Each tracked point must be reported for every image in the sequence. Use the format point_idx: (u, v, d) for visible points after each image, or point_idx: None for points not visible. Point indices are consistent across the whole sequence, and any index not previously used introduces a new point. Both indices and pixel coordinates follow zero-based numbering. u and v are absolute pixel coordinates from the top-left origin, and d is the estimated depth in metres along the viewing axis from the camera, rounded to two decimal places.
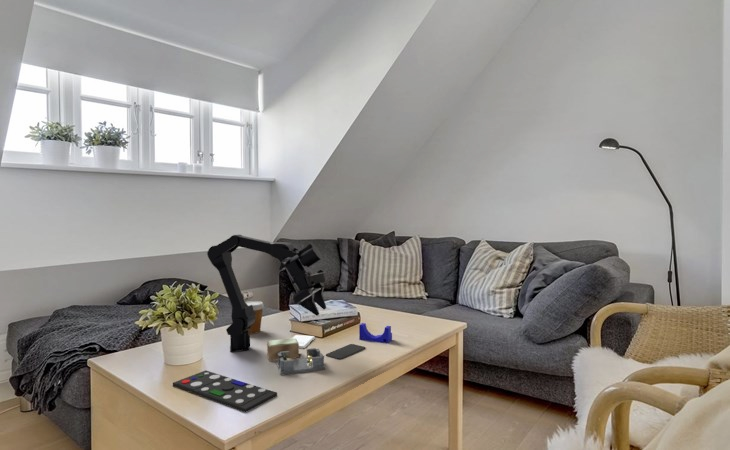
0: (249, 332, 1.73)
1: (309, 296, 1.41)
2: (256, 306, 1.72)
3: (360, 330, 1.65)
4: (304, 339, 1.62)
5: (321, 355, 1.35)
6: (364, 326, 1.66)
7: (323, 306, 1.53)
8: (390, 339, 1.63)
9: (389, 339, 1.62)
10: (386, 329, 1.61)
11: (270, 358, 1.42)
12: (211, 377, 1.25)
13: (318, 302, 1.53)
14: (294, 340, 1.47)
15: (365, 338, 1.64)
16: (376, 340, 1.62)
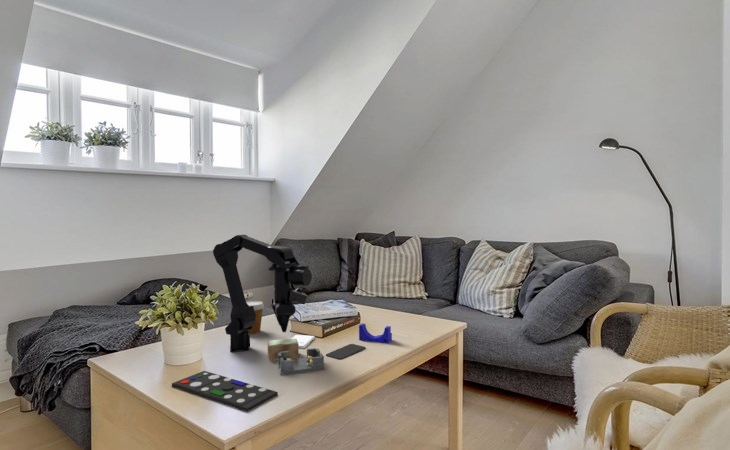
0: (249, 332, 1.73)
1: (291, 313, 1.39)
2: (256, 306, 1.72)
3: (360, 330, 1.64)
4: (304, 339, 1.62)
5: (321, 355, 1.35)
6: (364, 326, 1.65)
7: None
8: (390, 339, 1.62)
9: (389, 339, 1.61)
10: (386, 329, 1.60)
11: (270, 358, 1.42)
12: (210, 377, 1.24)
13: None
14: (294, 340, 1.47)
15: (365, 338, 1.63)
16: (376, 340, 1.62)
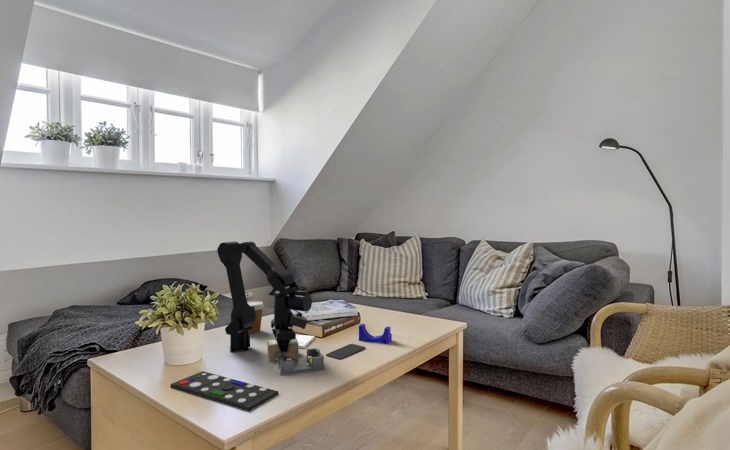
0: (249, 332, 1.73)
1: None
2: (256, 306, 1.72)
3: (359, 331, 1.64)
4: (304, 339, 1.62)
5: (321, 355, 1.35)
6: (363, 327, 1.65)
7: None
8: (390, 340, 1.62)
9: (389, 340, 1.61)
10: (386, 330, 1.60)
11: (270, 357, 1.42)
12: (209, 377, 1.24)
13: None
14: (294, 340, 1.47)
15: (364, 339, 1.63)
16: (376, 341, 1.61)
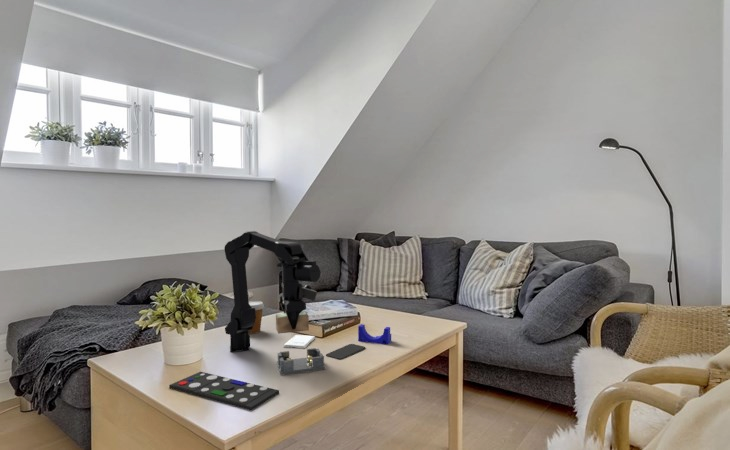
0: (249, 332, 1.73)
1: None
2: (256, 306, 1.72)
3: (359, 331, 1.63)
4: (304, 339, 1.62)
5: (321, 355, 1.35)
6: (363, 327, 1.64)
7: None
8: (389, 340, 1.61)
9: (388, 340, 1.60)
10: (385, 330, 1.59)
11: (279, 330, 1.37)
12: (208, 378, 1.24)
13: None
14: (304, 312, 1.42)
15: (364, 339, 1.62)
16: (375, 341, 1.61)
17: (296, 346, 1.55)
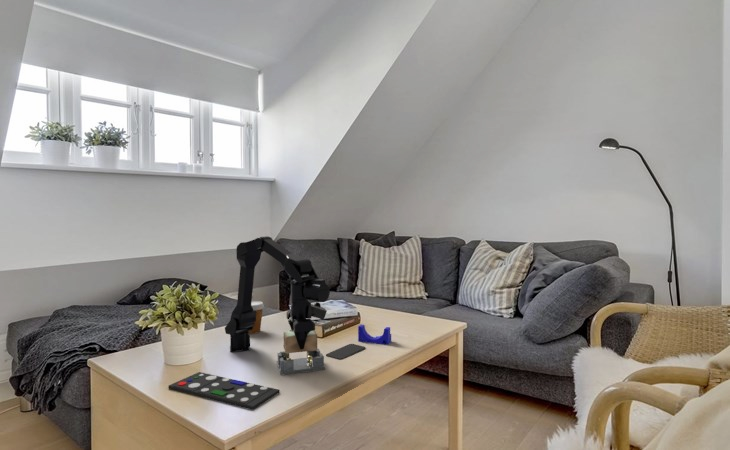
0: (249, 332, 1.73)
1: None
2: (256, 306, 1.72)
3: (359, 332, 1.63)
4: None
5: (321, 355, 1.35)
6: (363, 327, 1.63)
7: None
8: (389, 340, 1.61)
9: (388, 340, 1.60)
10: (385, 330, 1.59)
11: (287, 350, 1.32)
12: (207, 378, 1.24)
13: None
14: (312, 331, 1.37)
15: (364, 340, 1.62)
16: (375, 342, 1.60)
17: None
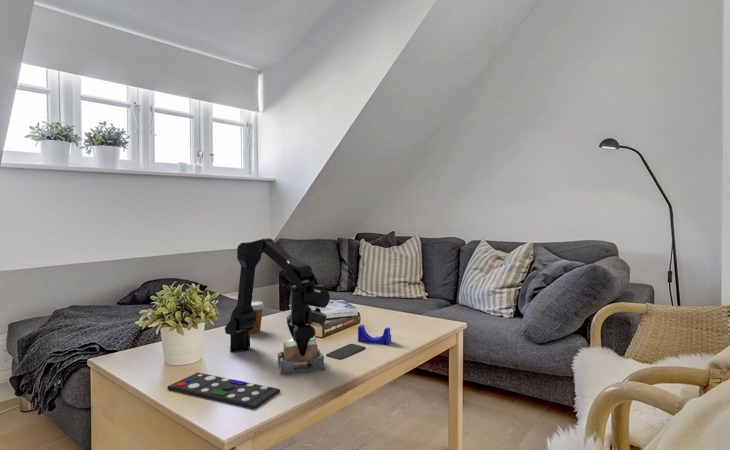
0: (249, 332, 1.73)
1: None
2: (256, 306, 1.72)
3: (359, 332, 1.62)
4: None
5: (321, 355, 1.35)
6: (363, 328, 1.63)
7: None
8: (389, 341, 1.61)
9: (388, 341, 1.60)
10: (386, 331, 1.58)
11: None
12: (207, 378, 1.24)
13: None
14: (312, 341, 1.37)
15: (364, 340, 1.61)
16: (375, 342, 1.60)
17: None
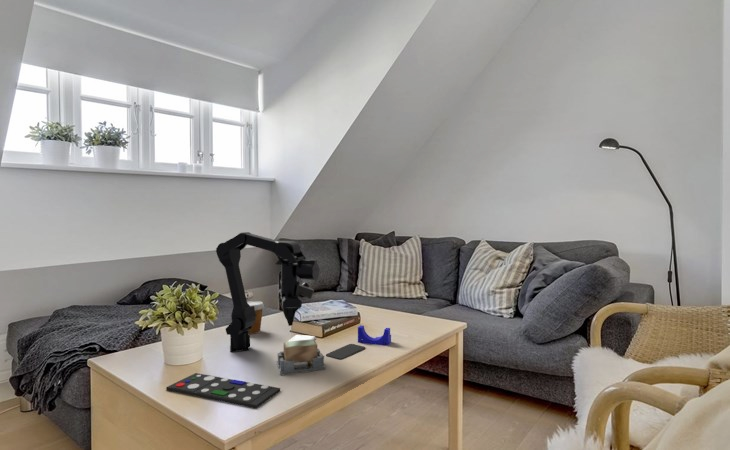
0: (249, 332, 1.73)
1: (297, 307, 1.40)
2: (256, 306, 1.72)
3: (359, 333, 1.61)
4: (304, 339, 1.62)
5: (321, 355, 1.35)
6: (362, 328, 1.62)
7: None
8: (389, 341, 1.60)
9: (389, 341, 1.59)
10: (386, 331, 1.58)
11: None
12: (206, 379, 1.23)
13: None
14: (312, 341, 1.37)
15: (364, 341, 1.61)
16: (375, 342, 1.59)
17: None
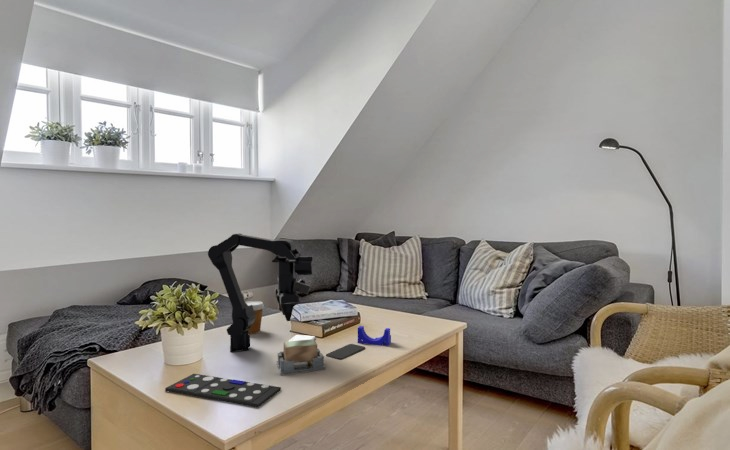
0: (249, 332, 1.73)
1: None
2: (256, 306, 1.72)
3: (358, 333, 1.61)
4: (304, 339, 1.62)
5: (321, 355, 1.35)
6: (362, 329, 1.62)
7: None
8: (389, 342, 1.60)
9: (389, 342, 1.59)
10: (386, 332, 1.57)
11: None
12: (205, 379, 1.23)
13: None
14: (312, 341, 1.37)
15: (364, 341, 1.60)
16: (375, 343, 1.59)
17: None
